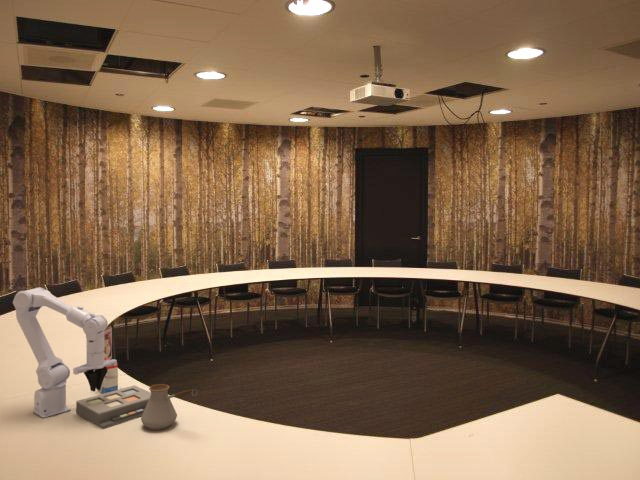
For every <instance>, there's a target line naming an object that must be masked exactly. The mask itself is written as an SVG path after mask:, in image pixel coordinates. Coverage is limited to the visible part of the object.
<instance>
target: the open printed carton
mask: <svg viewBox="0 0 640 480" xmlns="http://www.w3.org/2000/svg"><path fill="white" fill-rule="evenodd" d="M112 351H113V327H110V328H107V329H105V330H104V357H106V358H107V359H109V360H112V359H113V352H112Z"/></svg>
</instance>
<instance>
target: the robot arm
mask: <svg viewBox="0 0 640 480" xmlns="http://www.w3.org/2000/svg"><path fill="white" fill-rule="evenodd" d="M12 304H13V306H14V309H15V318H16V320H17V323H18V325H19V327H20V328H21V329H20V330H21V331H22V332H23V335H24V337H25V338H26V341H27V343H28V345H29V348H30V349H31V351H32V353H33V355H34V357H35V359H36V361H37V365H38V366H37V368H36V370H35V373H36V375H37V383H38V385H39V386H40V388H39V389H36V390H35V392H34V395H33V396H34V398H33V400H34V401H33V402H34V404H33V405H34V407H33V408H34V410H33V413H34V414H36V415H38V416H39V417H41V418H47V417H52V416H55V415H58V414H63V413H66V412H69V411H71V410H72V409H71V408H70V407H68V406H67V395H66V394H67V389H66V388H67V380H68V379H69V378H70V375H71V370H70V367H69V366H68V365H67V364H66V363H64V361H63V358H59V357H57V356H56V354H55V353H54V351H53V349H52V347H51V345H50V343H49V341H48V339H47V337H46V335H45V333H44V331H43V329H42V327H41V325H40V323H39V321H38V318H37V315H38V313H39V310H40V309H41V308H42V307H47V308H48V309H50V310H53V311H55V312H57V313H60V314H62V315H64V316H65V319H66V321H68V322H70V323H72V324H74V325H75V326H77V327H79V328H81V329H82V331H83V334H85V339H86V363H84V364H82V365H80V366H77V367H73V369H72V371H73V372H72V374H74V375H76V376H77V375H79V374H84V376H85V377H86V379H87V381H88V384H89V388H90V391H91V392H95V391H96V390H97V391H98V390H101V385H102V382H103V379H104V377H105V375H106V373H107V371H108V369H106V367H109V366H116V365H117V363H118V361H117V359H113V358H112V359H110V360H105V361H104V331H106V330H107V329H108V325H109V324H108V320H107V319H106V318H105V317H104V316H103V315H101V314H97V315H95V313H94V312H92V313H91V312H89V311H87V310H85V309H84V307H83V306H82V305H74V306H71V305H69V303H66V302H64V301H63V300H62V299H59V298H58V297H57V296H55V295H53V294H52V293H51V291H49V290H47V289H45V288H43V287H40V286H39V287H35V288H32V289H31V288H30V289H27V290H20V291H18V292H17V293H16V294H15V295H14V298H13V301H12Z"/></svg>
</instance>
